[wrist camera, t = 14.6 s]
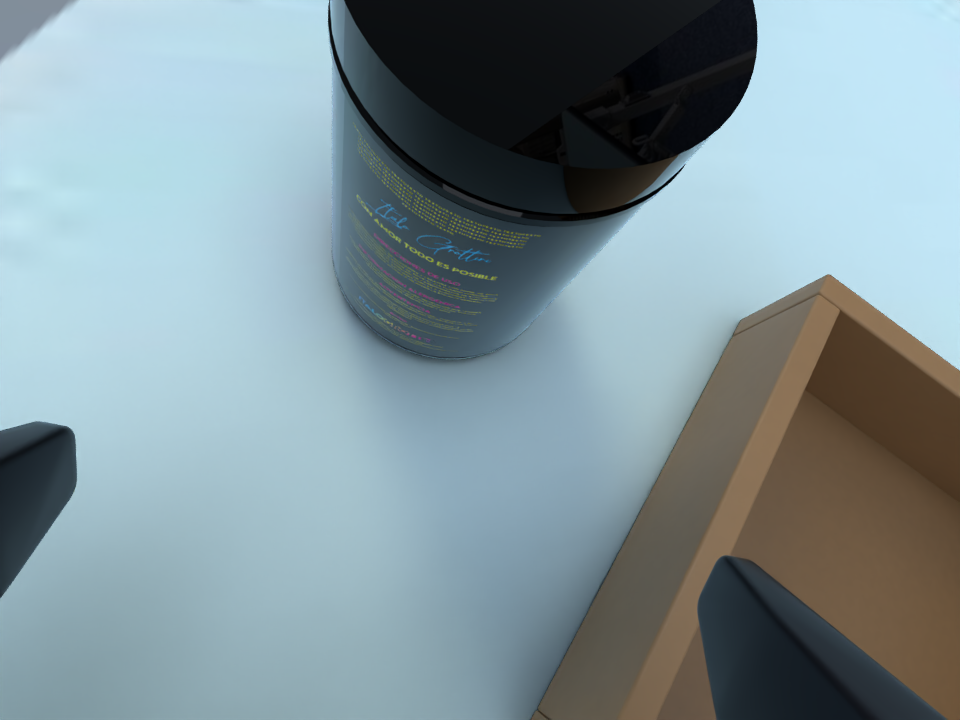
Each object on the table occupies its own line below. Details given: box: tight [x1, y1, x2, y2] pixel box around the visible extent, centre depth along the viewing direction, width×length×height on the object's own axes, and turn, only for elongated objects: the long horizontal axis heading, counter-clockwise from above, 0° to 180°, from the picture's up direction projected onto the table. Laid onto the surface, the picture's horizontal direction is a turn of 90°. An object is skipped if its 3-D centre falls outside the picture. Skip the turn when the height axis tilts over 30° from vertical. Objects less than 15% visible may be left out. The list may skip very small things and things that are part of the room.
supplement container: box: [328, 0, 757, 360], centre depth 14 cm, size 7×7×10 cm
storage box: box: [531, 274, 960, 720], centre depth 17 cm, size 15×14×4 cm
